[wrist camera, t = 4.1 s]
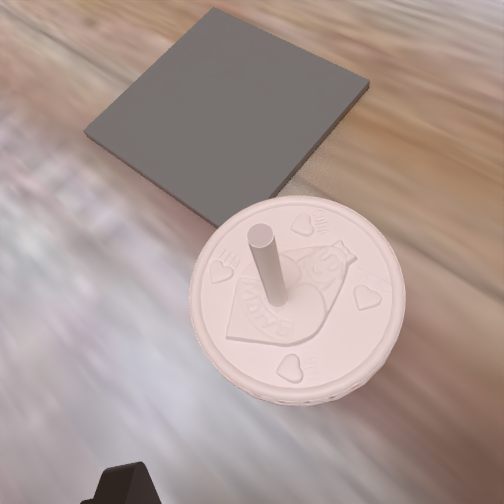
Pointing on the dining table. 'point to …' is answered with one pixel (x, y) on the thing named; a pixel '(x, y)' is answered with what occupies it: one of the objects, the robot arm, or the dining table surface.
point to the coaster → (226, 116)
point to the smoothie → (297, 300)
